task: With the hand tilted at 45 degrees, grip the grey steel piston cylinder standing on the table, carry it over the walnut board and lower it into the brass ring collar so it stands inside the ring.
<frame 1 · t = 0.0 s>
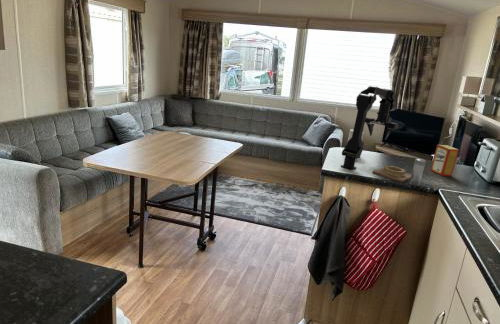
hand: (378, 137, 215), 15 cm above the counter, tool pointing down, fingers open, 9 cm apart
ring board: (393, 175, 194), on the counter
piston: (414, 184, 183), on the counter
skincare box: (351, 155, 228), on the counter
baking soda box: (440, 173, 210), on the counter
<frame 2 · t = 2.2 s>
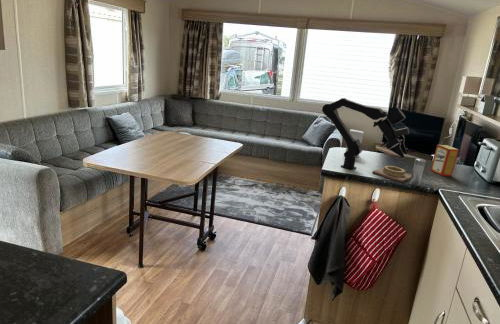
hand: (405, 155, 183), 13 cm above the counter, tool tilted 45°, fingers open, 9 cm apart
nothing on the counter moved.
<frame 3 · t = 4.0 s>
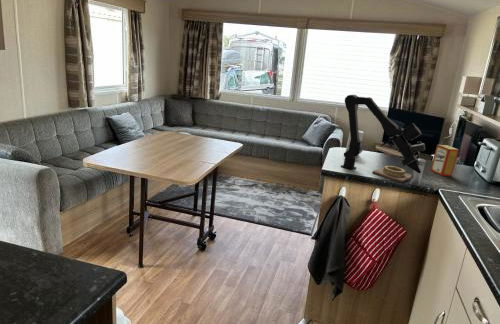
hand: (420, 171, 180), 7 cm above the counter, tool tilted 45°, fingers closed on piston, 5 cm apart
piston: (414, 184, 183), on the counter, touching gripper
everything else where it was.
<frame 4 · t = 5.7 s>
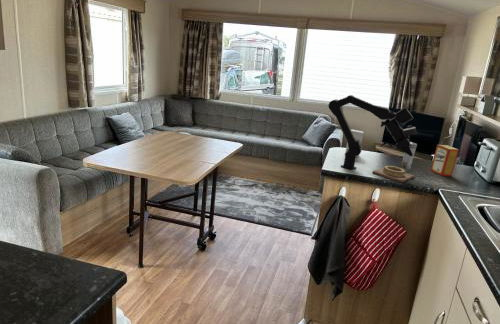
hand: (411, 154, 185), 14 cm above the counter, tool tilted 45°, fingers closed on piston, 5 cm apart
piston: (405, 167, 188), point 6 cm above the counter, touching gripper
everything else where it was.
when the fingers open (9 cm above the counter, at t = 7.5 s): piston drops 1 cm, resting on ring board.
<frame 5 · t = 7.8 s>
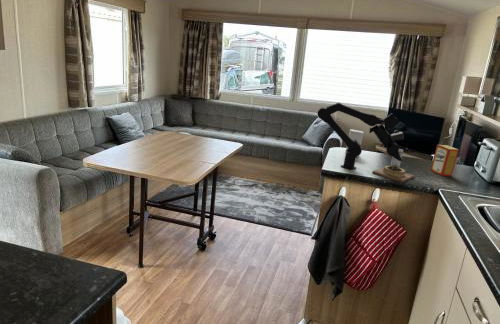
hand: (399, 158, 191), 10 cm above the counter, tool tilted 45°, fingers open, 8 cm apart
piston: (393, 173, 194), point 1 cm above the counter, touching ring board
everything else where it was.
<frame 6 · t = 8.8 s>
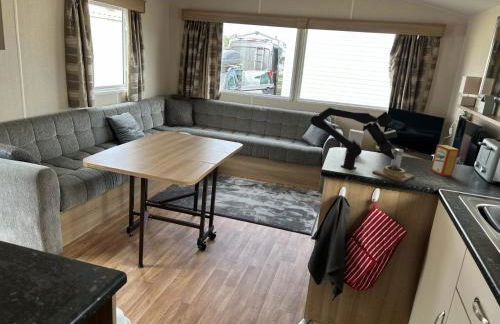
hand: (392, 156, 192), 10 cm above the counter, tool tilted 45°, fingers open, 9 cm apart
nothing on the counter moved.
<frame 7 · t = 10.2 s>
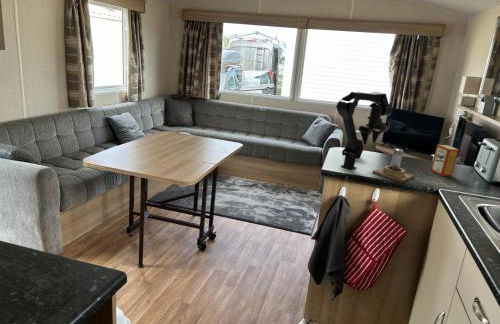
hand: (369, 143, 202), 13 cm above the counter, tool pointing down, fingers open, 9 cm apart
nothing on the counter moved.
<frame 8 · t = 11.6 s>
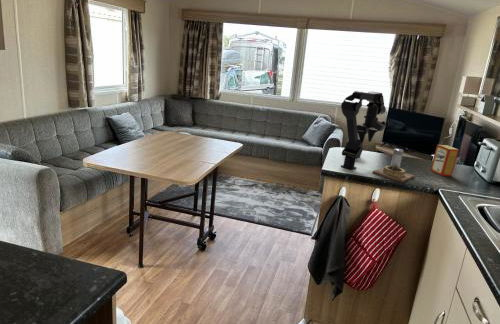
hand: (365, 142, 205), 13 cm above the counter, tool pointing down, fingers open, 9 cm apart
nothing on the counter moved.
at the end: piston 0.1 cm off-centre on the ring board, point 1.2 cm above the ring board's base; piston tilted 0°; the gripper is holding nothing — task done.
